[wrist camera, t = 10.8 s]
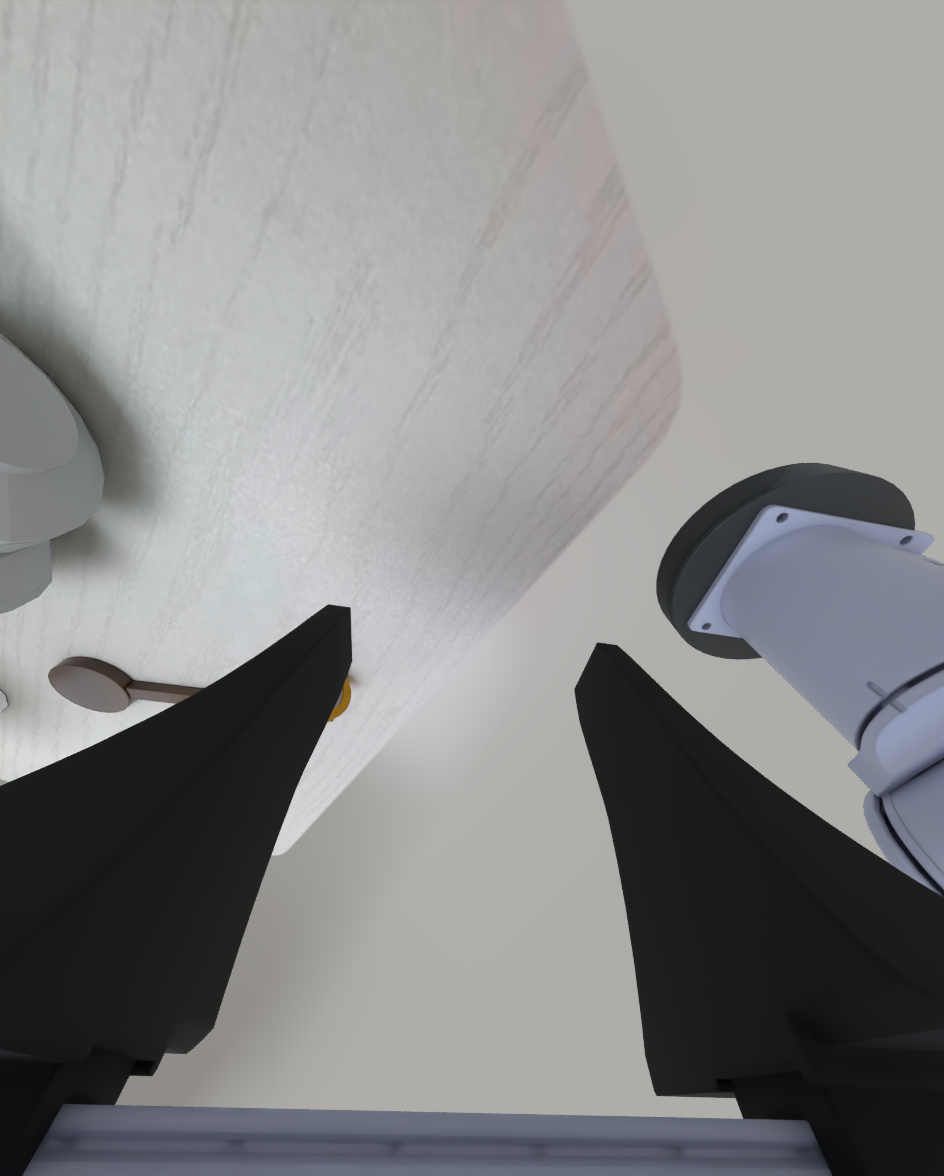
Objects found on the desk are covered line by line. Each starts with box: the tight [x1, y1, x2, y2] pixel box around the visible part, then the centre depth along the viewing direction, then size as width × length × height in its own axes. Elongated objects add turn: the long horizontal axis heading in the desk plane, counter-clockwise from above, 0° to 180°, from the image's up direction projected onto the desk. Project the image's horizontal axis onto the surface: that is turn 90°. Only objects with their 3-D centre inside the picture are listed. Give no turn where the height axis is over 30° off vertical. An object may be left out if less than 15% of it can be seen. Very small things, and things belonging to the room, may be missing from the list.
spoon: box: [48, 657, 334, 721], centre depth 25 cm, size 20×5×1 cm, turn 80°
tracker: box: [328, 678, 351, 722], centre depth 22 cm, size 4×1×4 cm, turn 39°
